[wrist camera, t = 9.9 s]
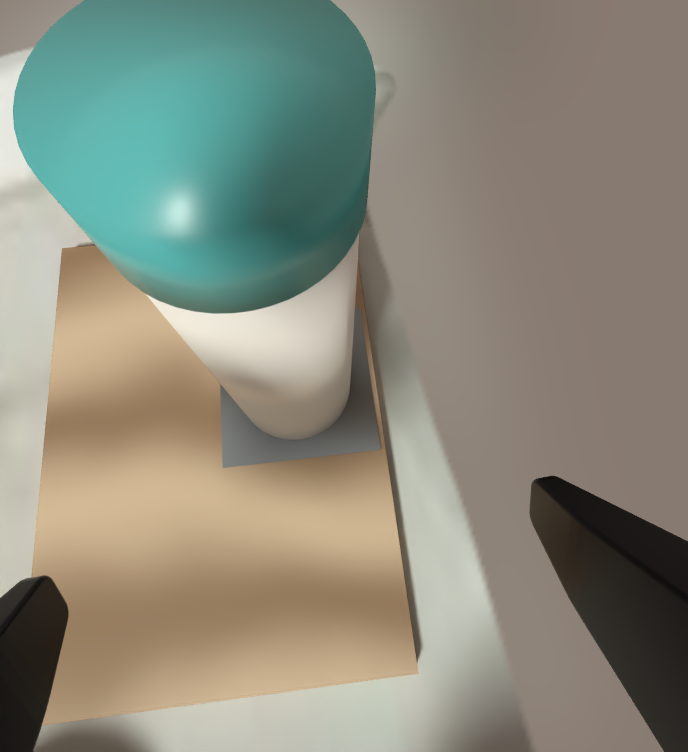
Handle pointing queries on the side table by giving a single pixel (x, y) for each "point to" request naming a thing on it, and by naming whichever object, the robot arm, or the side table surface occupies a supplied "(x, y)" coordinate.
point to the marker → (218, 179)
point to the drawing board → (204, 521)
